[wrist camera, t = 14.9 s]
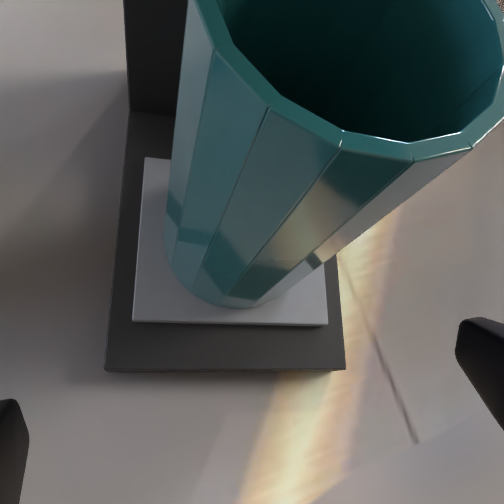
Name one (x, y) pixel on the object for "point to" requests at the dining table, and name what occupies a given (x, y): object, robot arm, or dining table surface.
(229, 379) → the dining table surface
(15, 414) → the robot arm
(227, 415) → the dining table surface
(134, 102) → the coffee maker
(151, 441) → the dining table surface
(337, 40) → the cup
